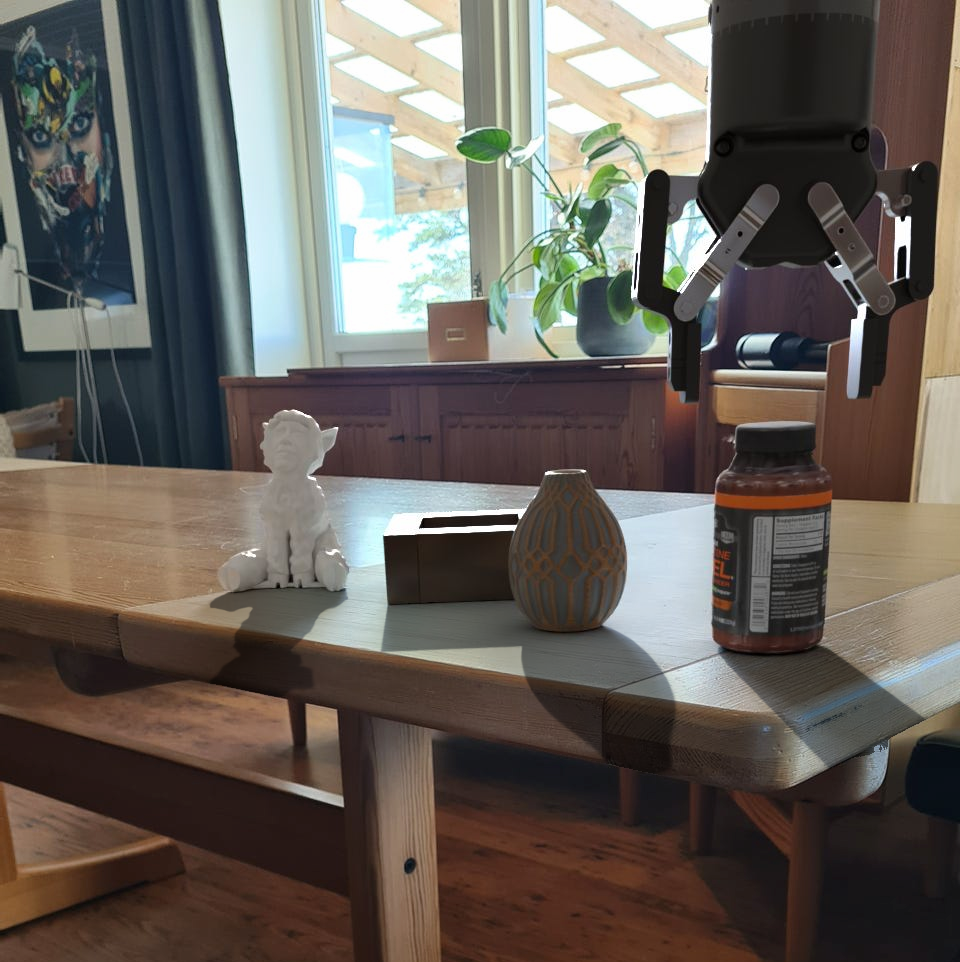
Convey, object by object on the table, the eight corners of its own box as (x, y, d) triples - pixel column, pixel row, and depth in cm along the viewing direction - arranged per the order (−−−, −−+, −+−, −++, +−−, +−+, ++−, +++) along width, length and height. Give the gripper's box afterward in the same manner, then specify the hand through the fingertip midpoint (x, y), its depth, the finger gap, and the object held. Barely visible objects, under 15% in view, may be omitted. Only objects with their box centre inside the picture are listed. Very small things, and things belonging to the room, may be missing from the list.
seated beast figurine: (215, 593, 91) (195, 416, 87) (254, 573, 99) (237, 409, 95) (344, 591, 90) (330, 411, 85) (373, 571, 98) (361, 405, 93)
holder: (548, 570, 95) (547, 508, 93) (556, 597, 84) (555, 528, 83) (397, 576, 95) (393, 514, 93) (387, 604, 85) (382, 535, 83)
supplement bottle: (697, 636, 72) (702, 423, 67) (801, 630, 72) (812, 417, 68) (728, 660, 66) (735, 429, 62) (840, 653, 66) (854, 423, 62)
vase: (550, 610, 80) (547, 465, 77) (648, 619, 77) (649, 466, 73) (487, 631, 75) (481, 476, 72) (588, 641, 71) (586, 478, 68)
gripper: (647, 10, 55) (641, 408, 61) (979, -2, 55) (941, 399, 61) (628, 49, 62) (624, 403, 68) (923, 39, 62) (893, 394, 68)
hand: (774, 400), depth 64 cm, fingers open, 8 cm apart
